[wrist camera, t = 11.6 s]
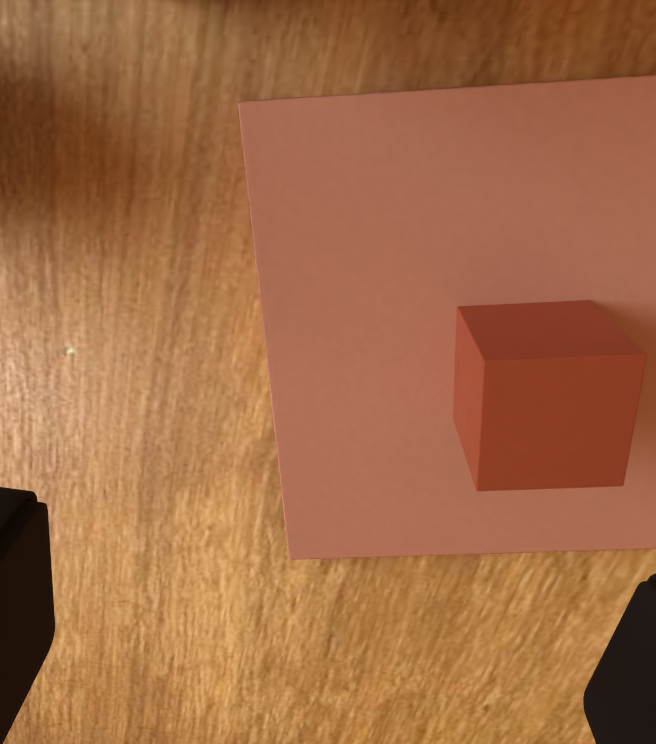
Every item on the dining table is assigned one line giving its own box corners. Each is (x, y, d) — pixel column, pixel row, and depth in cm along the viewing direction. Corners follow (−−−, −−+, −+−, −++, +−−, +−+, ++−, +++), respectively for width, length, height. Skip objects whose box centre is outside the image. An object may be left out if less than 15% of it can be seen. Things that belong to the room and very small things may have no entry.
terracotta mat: (240, 101, 21) (237, 102, 21) (838, 62, 20) (856, 62, 20) (290, 548, 30) (289, 560, 29) (711, 535, 29) (720, 547, 28)
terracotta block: (456, 305, 24) (483, 360, 19) (589, 299, 23) (648, 353, 19) (452, 419, 26) (476, 492, 21) (574, 414, 26) (623, 487, 21)
